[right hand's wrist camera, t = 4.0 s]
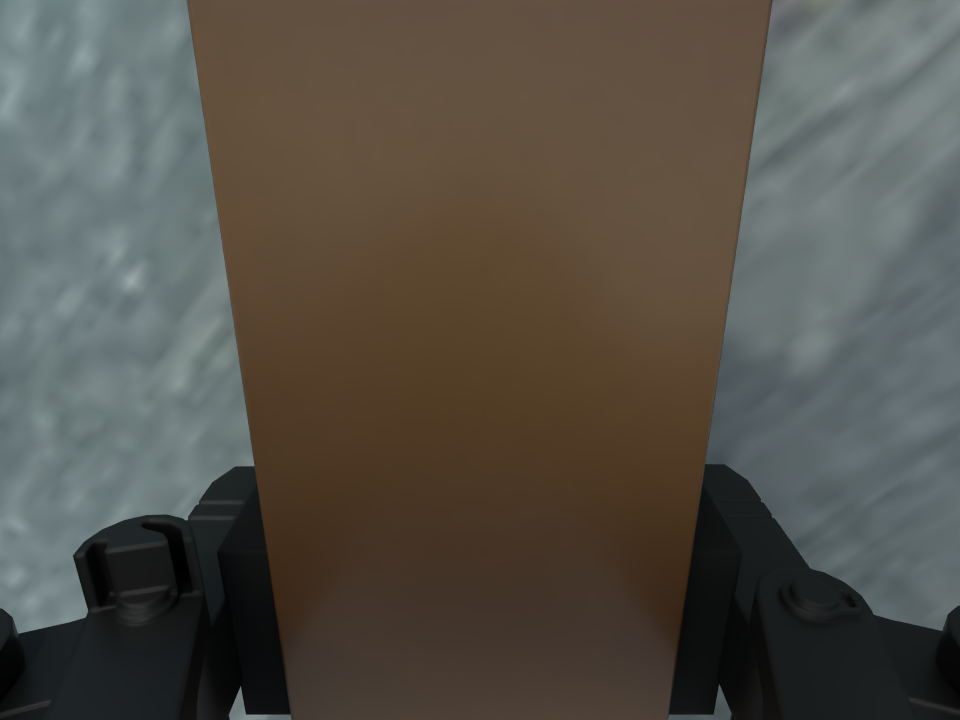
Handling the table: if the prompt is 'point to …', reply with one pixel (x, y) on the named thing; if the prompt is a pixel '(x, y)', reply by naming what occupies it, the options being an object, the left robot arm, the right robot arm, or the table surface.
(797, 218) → the table surface
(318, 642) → the post
